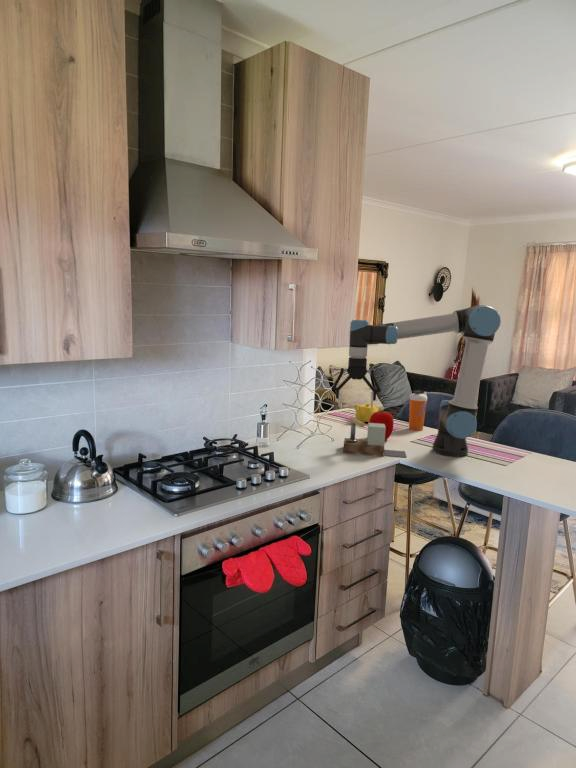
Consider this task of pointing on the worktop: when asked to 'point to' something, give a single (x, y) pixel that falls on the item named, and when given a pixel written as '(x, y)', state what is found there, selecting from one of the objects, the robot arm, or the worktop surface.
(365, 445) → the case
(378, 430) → the grey block
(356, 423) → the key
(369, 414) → the teapot
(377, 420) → the tomato
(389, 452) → the mat
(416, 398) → the shaker bottle
